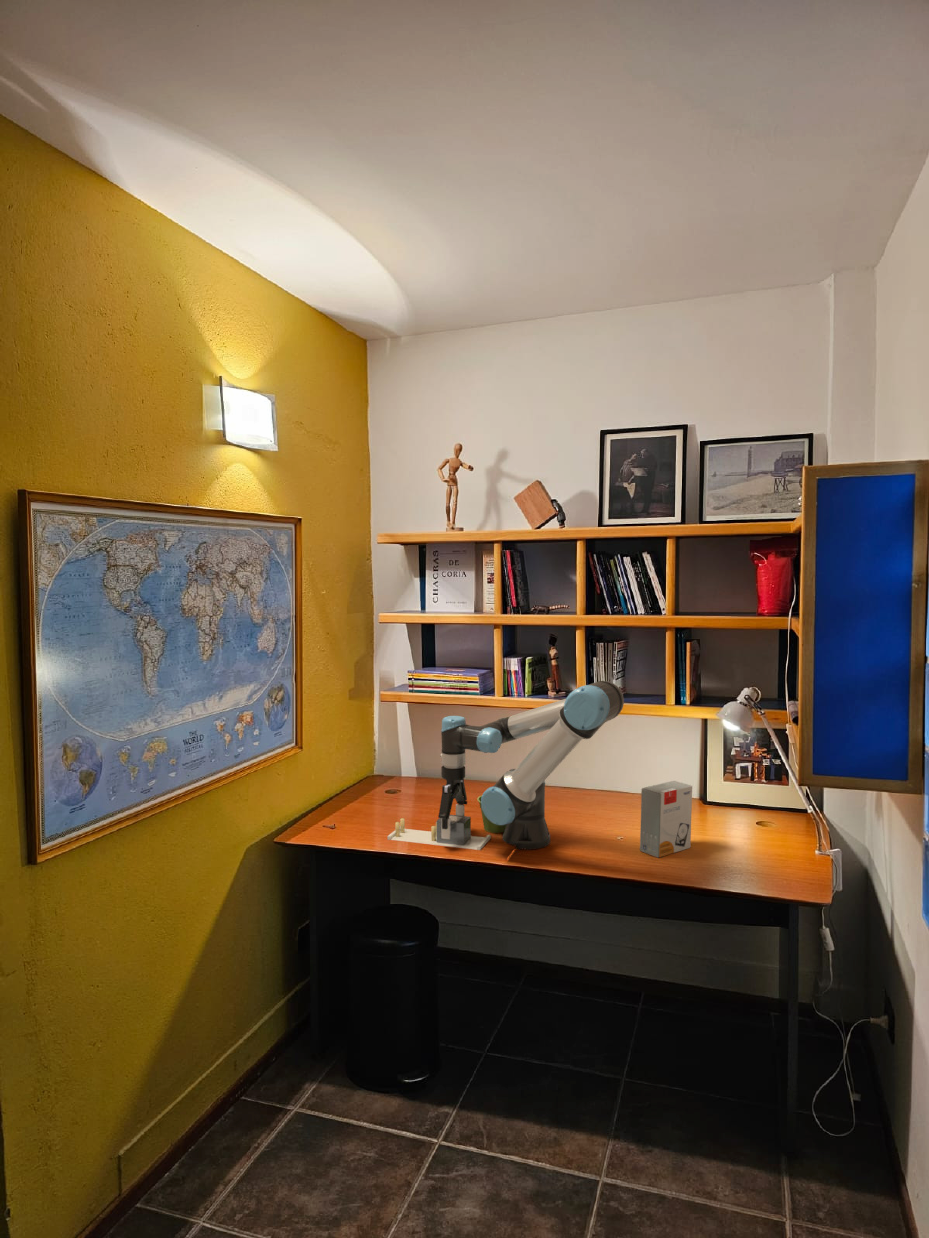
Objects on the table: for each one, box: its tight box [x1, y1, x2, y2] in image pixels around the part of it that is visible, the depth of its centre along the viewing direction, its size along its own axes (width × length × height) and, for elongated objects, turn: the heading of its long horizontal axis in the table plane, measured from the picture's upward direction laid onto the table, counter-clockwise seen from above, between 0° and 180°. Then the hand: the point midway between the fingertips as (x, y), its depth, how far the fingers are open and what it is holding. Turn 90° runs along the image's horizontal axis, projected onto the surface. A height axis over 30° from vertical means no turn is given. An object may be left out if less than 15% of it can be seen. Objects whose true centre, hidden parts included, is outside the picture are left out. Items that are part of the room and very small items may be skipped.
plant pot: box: [476, 795, 506, 834], centre depth 263 cm, size 12×12×11 cm
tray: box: [387, 817, 491, 851], centre depth 255 cm, size 31×11×6 cm, turn 71°
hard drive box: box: [639, 780, 693, 858], centre depth 246 cm, size 16×8×20 cm, turn 126°
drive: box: [436, 814, 472, 846], centre depth 253 cm, size 9×7×7 cm
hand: (453, 831), depth 253 cm, fingers open, 13 cm apart
